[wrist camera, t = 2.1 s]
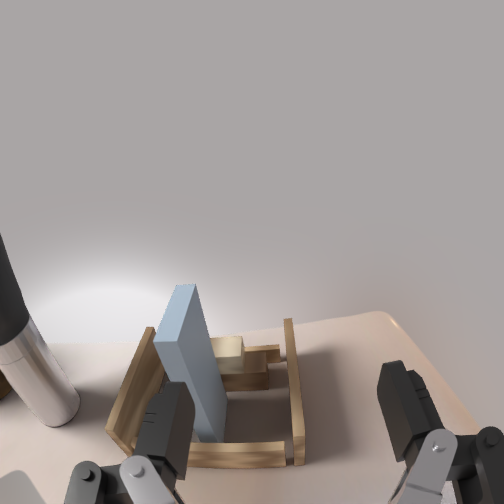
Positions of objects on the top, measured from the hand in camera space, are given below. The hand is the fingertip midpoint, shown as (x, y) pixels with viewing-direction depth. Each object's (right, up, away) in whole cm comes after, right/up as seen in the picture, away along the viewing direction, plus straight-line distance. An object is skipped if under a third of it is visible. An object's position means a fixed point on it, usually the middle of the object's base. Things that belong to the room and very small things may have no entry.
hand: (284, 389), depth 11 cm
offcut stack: (-6, -14, +33) cm, 36 cm away
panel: (-6, -18, +26) cm, 32 cm away
